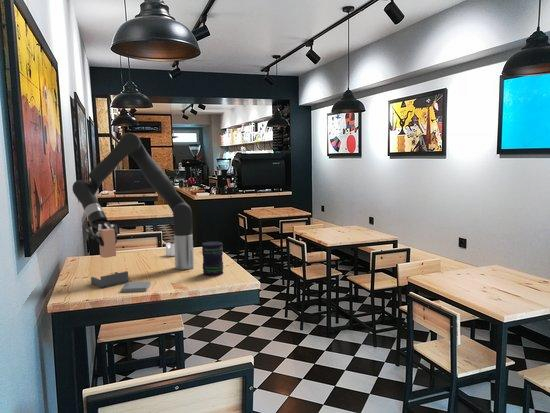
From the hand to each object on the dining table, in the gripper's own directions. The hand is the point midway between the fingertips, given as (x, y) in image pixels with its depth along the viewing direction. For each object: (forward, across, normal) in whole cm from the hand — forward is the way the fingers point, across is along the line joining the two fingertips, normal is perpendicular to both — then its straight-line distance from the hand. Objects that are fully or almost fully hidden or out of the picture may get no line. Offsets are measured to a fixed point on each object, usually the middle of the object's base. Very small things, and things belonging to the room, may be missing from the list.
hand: (109, 244), depth 181 cm
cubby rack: (+11, 0, +14) cm, 18 cm away
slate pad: (+24, +4, +2) cm, 24 cm away
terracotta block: (+3, 0, +5) cm, 6 cm away
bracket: (-8, +55, +34) cm, 66 cm away
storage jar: (+28, +40, -2) cm, 49 cm away
